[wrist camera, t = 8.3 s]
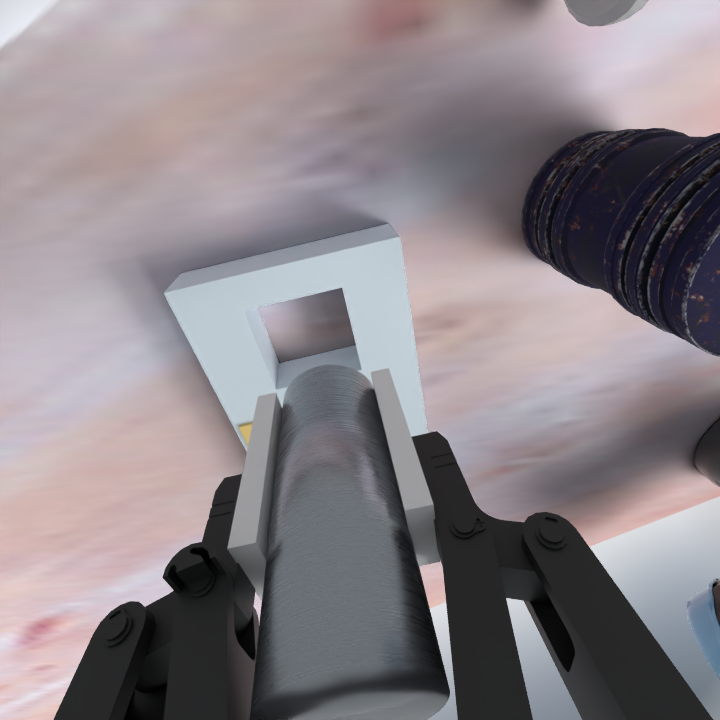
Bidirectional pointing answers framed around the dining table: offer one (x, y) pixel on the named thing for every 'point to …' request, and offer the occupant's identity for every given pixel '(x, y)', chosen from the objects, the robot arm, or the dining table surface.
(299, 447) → the grey rounded cylinder
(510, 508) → the dining table surface
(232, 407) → the block
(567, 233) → the storage jar
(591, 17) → the cup
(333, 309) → the dining table surface
